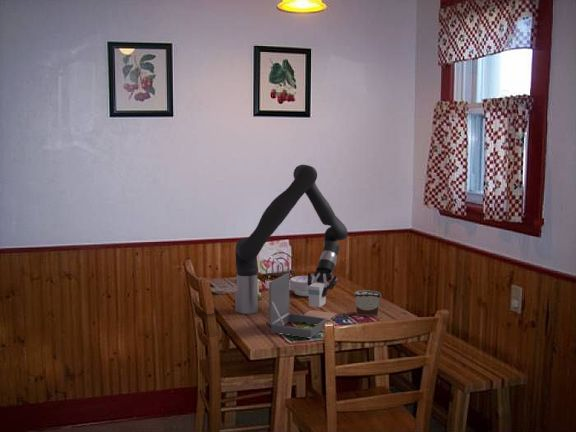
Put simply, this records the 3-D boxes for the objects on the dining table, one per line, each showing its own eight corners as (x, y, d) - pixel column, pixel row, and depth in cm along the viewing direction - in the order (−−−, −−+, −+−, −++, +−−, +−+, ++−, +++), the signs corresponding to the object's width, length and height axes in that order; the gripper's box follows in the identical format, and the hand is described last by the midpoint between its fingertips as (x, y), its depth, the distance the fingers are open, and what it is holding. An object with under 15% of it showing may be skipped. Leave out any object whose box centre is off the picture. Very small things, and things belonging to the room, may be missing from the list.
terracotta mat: (295, 320, 282) (295, 319, 282) (310, 310, 296) (310, 310, 296) (323, 324, 276) (323, 323, 276) (337, 314, 291) (337, 313, 291)
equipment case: (269, 332, 266) (269, 282, 263) (287, 320, 282) (287, 273, 278) (311, 339, 258) (311, 287, 255) (327, 326, 274) (327, 277, 271)
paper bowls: (302, 288, 335) (302, 273, 334) (326, 293, 326) (326, 278, 324) (283, 294, 324) (283, 279, 322) (307, 300, 314) (307, 284, 313)
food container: (380, 311, 295) (381, 290, 294) (381, 315, 289) (381, 293, 288) (353, 310, 296) (353, 289, 295) (353, 314, 290) (353, 293, 289)
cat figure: (266, 302, 315) (264, 285, 339) (266, 285, 313) (264, 269, 337) (245, 302, 314) (245, 285, 338) (245, 285, 312) (245, 269, 336)
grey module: (308, 306, 283) (308, 286, 282) (314, 301, 290) (314, 282, 288) (319, 307, 281) (319, 287, 280) (325, 303, 288) (325, 283, 286)
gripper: (310, 257, 294) (299, 289, 285) (340, 259, 288) (330, 293, 279) (314, 266, 299) (304, 298, 290) (344, 269, 293) (334, 301, 284)
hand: (316, 295), depth 285 cm, fingers closed on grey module, 5 cm apart
